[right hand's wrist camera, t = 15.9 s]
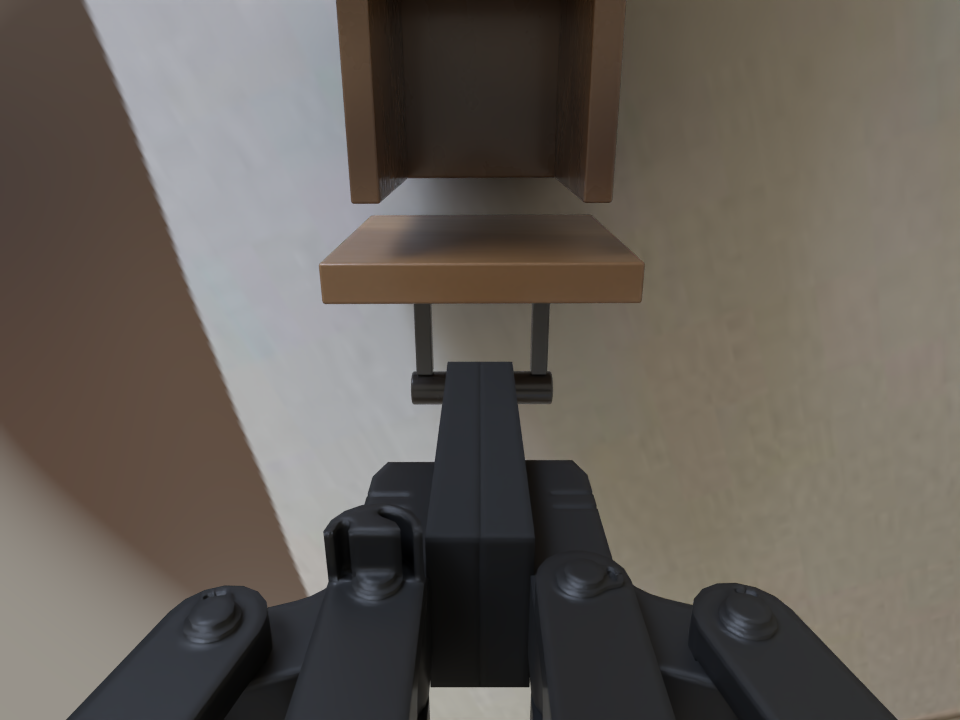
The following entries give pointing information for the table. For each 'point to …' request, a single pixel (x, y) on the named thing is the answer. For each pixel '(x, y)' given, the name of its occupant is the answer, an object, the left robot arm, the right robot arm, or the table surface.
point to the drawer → (481, 160)
